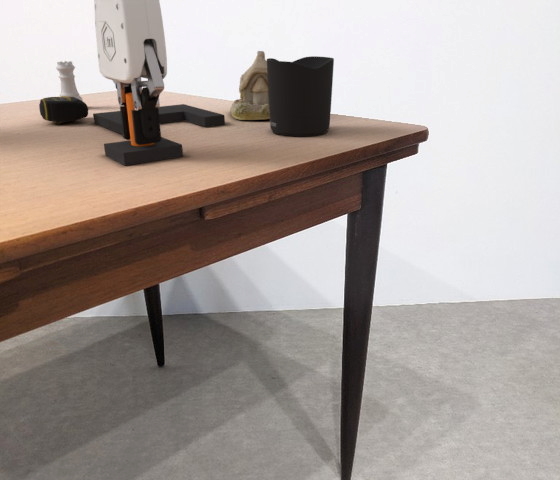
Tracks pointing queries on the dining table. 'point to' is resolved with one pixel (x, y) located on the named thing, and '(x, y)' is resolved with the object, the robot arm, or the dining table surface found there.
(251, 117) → the ceramic model
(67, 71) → the rook chess piece
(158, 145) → the orange peg with base
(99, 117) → the black u-shaped block
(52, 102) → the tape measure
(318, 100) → the pen holder
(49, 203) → the dining table surface
